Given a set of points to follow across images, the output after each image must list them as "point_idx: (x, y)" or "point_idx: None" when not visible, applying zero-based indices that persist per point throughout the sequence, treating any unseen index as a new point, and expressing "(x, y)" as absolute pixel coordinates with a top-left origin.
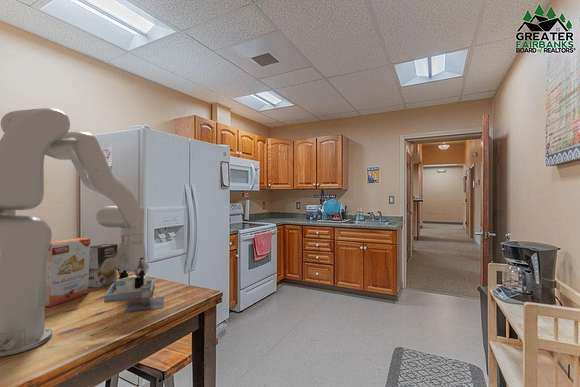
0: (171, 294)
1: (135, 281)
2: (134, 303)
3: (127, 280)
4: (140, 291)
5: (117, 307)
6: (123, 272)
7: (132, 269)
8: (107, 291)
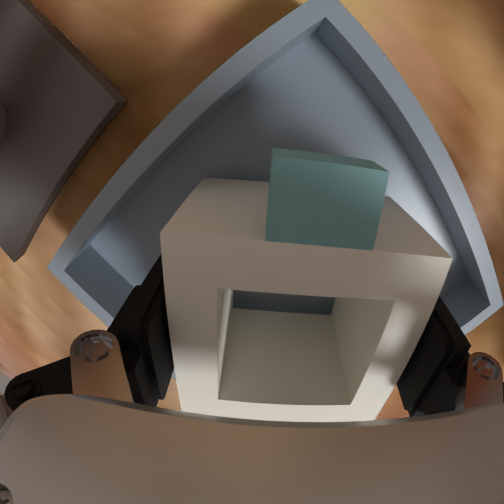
0: (64, 326)
1: (148, 295)
2: (43, 89)
3: (278, 289)
4: (87, 219)
5: (147, 15)
6: (447, 400)
7: (55, 417)
8: (414, 102)
